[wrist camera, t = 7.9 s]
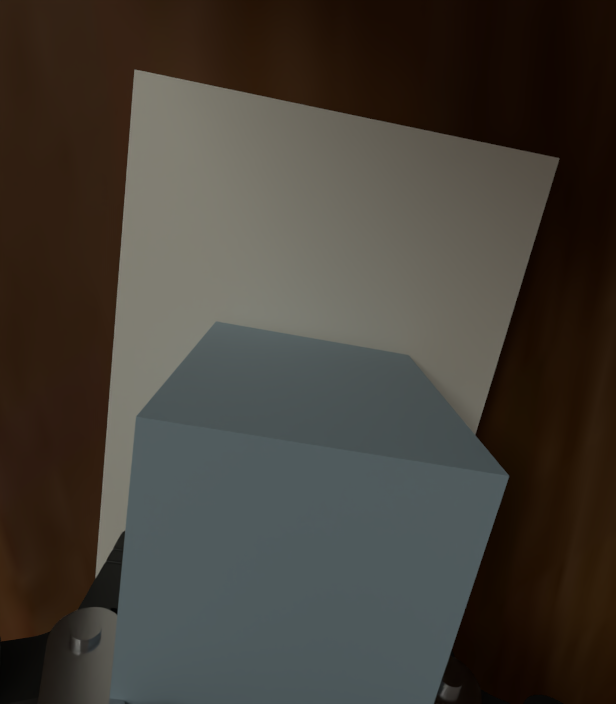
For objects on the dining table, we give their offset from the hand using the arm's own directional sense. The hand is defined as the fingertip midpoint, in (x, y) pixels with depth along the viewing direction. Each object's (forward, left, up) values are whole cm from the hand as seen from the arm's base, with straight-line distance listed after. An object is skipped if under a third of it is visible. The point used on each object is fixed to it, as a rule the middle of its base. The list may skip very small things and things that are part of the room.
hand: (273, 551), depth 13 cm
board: (0, 0, -2) cm, 2 cm away
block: (0, 0, -1) cm, 1 cm away
